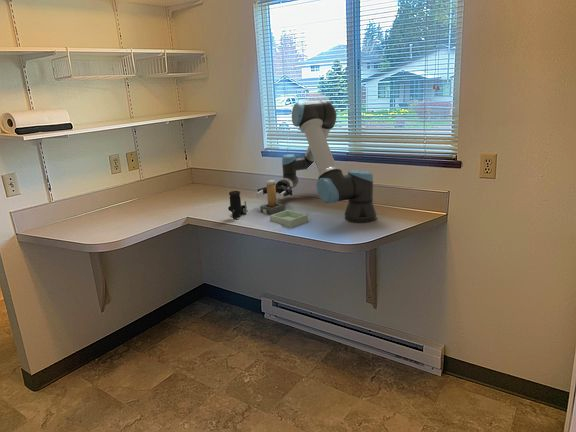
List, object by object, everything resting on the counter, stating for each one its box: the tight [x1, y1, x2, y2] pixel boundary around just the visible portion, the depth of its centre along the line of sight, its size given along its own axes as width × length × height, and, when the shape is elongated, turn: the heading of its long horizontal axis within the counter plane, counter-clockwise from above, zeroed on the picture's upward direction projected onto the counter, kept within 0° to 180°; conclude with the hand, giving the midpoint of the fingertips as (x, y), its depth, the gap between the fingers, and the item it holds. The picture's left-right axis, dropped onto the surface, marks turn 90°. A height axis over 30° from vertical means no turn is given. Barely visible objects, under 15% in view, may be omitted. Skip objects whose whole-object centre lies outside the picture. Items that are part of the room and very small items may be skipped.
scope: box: [228, 190, 248, 221], centre depth 223 cm, size 8×14×10 cm
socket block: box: [256, 202, 287, 216], centre depth 231 cm, size 12×12×4 cm
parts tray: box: [269, 209, 309, 229], centre depth 214 cm, size 14×12×4 cm
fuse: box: [265, 179, 277, 208], centre depth 228 cm, size 5×5×16 cm
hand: (269, 195), depth 225 cm, fingers open, 12 cm apart
